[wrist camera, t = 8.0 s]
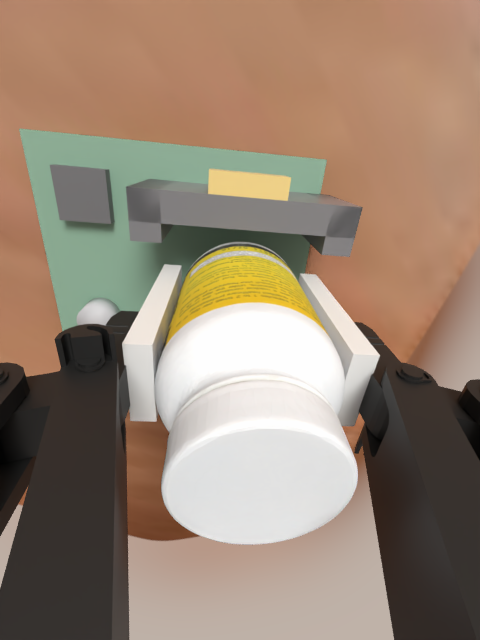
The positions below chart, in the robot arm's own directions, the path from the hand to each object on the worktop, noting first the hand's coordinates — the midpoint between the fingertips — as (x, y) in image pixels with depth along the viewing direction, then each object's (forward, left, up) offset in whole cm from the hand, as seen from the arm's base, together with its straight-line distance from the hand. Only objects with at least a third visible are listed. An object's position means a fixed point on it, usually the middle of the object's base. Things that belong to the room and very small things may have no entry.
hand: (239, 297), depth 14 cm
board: (-3, 0, -4) cm, 5 cm away
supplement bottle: (0, 0, -1) cm, 1 cm away
